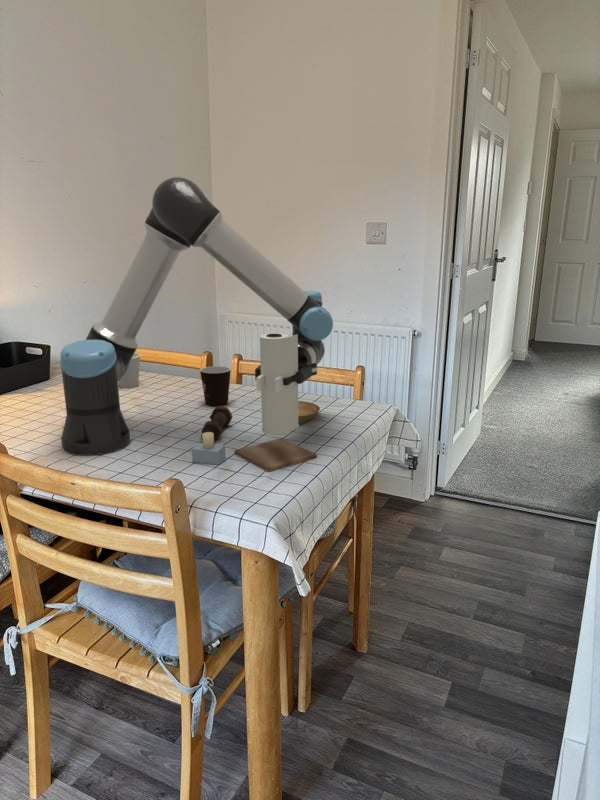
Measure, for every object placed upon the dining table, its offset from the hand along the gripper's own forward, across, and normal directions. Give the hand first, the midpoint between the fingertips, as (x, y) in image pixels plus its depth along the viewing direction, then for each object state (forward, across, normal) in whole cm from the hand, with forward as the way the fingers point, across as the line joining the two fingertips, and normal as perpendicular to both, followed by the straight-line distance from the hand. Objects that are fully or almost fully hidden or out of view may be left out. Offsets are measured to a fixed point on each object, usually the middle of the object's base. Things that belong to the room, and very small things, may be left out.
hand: (267, 385), depth 120 cm
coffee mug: (-41, +29, -18) cm, 53 cm away
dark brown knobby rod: (-15, +19, -18) cm, 30 cm away
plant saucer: (-34, +4, -18) cm, 39 cm away
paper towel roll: (-5, -1, -12) cm, 13 cm away
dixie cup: (-51, +63, -18) cm, 83 cm away
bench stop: (+1, +13, -18) cm, 22 cm away
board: (-5, 0, -18) cm, 18 cm away
